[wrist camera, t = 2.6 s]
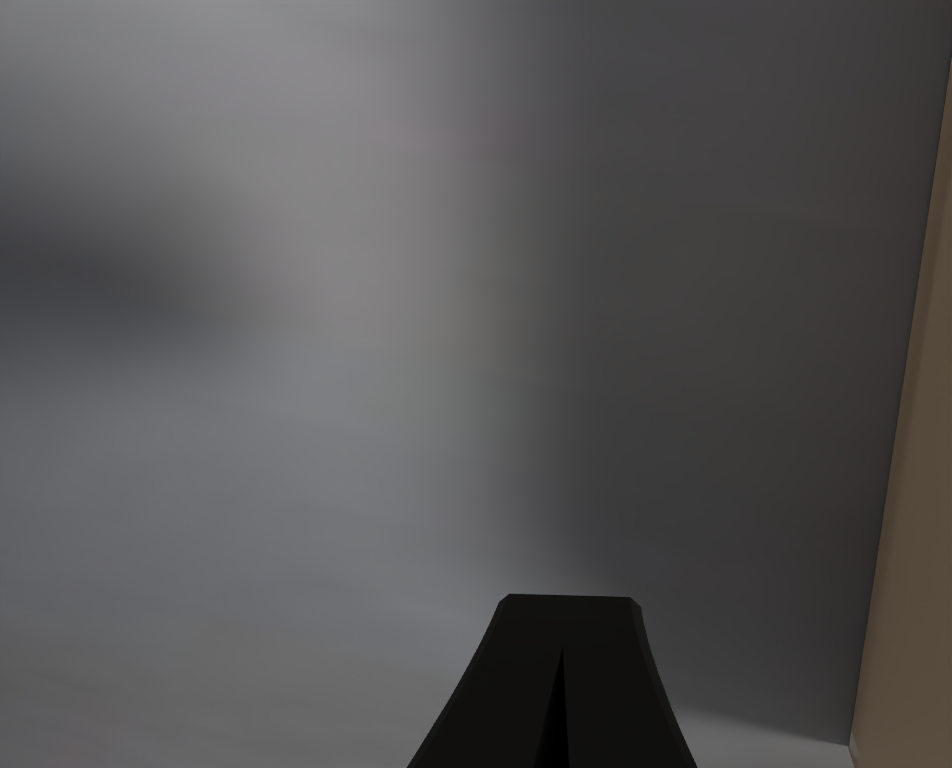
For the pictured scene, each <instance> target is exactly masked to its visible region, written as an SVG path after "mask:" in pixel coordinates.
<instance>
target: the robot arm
mask: <svg viewBox="0 0 952 768" xmlns="http://www.w3.org/2000/svg"><path fill="white" fill-rule="evenodd" d="M407 768H697V766H696V763H695V761H694V759H693V757H692V755H691V752H690V750H689V748H688V746H687V744H686V741H685V739H684V737H683V735H682V733H681V730H680V728H679V725H678V723H677V721H676V718H675V716H674V713H673V711H672V708H671V706H670V703H669V701H668V698H667V695H666V693H665V690H664V687H663V685H662V682H661V679H660V677H659V674H658V671H657V668H656V665H655V662H654V659H653V656H652V653H651V649H650V646H649V643H648V639H647V635H646V631H645V627H644V623H643V617H642V611H641V607H640V606H639V605H638V604H637V603H636V602H635V601H634V600H633V599H631V598H630V597H607V596H571V595H536V594H508V595H507V596H506V597H505V598H504V599H502V600H501V601H500V602H499V603H498V606H497V608H496V611H495V613H494V615H493V618H492V620H491V622H490V624H489V626H488V628H487V630H486V632H485V634H484V637H483V639H482V641H481V643H480V645H479V646H478V648H477V650H476V652H475V654H474V656H473V658H472V660H471V662H470V664H469V665H468V667H467V669H466V671H465V672H464V674H463V676H462V678H461V680H460V681H459V683H458V685H457V687H456V689H455V690H454V692H453V694H452V696H451V697H450V699H449V701H448V702H447V704H446V705H445V707H444V709H443V710H442V712H441V714H440V715H439V717H438V718H437V720H436V722H435V723H434V725H433V727H432V728H431V730H430V731H429V733H428V735H427V736H426V738H425V740H424V741H423V743H422V744H421V746H420V748H419V749H418V751H417V752H416V754H415V756H414V757H413V759H412V760H411V762H410V763H409V765H408V766H407Z"/></svg>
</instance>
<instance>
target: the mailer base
mask: <svg viewBox="0 0 952 768" xmlns="http://www.w3.org/2000/svg"><path fill="white" fill-rule="evenodd" d="M849 751H850V754H851V758H852V761H853V764H854V767H855V768H952V59H951V66H950V72H949V79H948V86H947V92H946V99H945V106H944V113H943V119H942V126H941V133H940V139H939V146H938V153H937V160H936V166H935V173H934V180H933V186H932V193H931V200H930V206H929V213H928V220H927V227H926V233H925V240H924V247H923V253H922V260H921V267H920V274H919V280H918V287H917V294H916V300H915V307H914V314H913V320H912V327H911V334H910V341H909V347H908V354H907V361H906V367H905V374H904V381H903V388H902V394H901V401H900V408H899V414H898V421H897V428H896V434H895V441H894V448H893V455H892V461H891V468H890V475H889V481H888V488H887V495H886V502H885V508H884V515H883V522H882V528H881V535H880V542H879V548H878V555H877V562H876V569H875V575H874V582H873V589H872V595H871V602H870V609H869V616H868V622H867V629H866V636H865V642H864V649H863V656H862V662H861V669H860V676H859V683H858V689H857V696H856V703H855V709H854V716H853V723H852V730H851V736H850V743H849Z"/></svg>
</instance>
